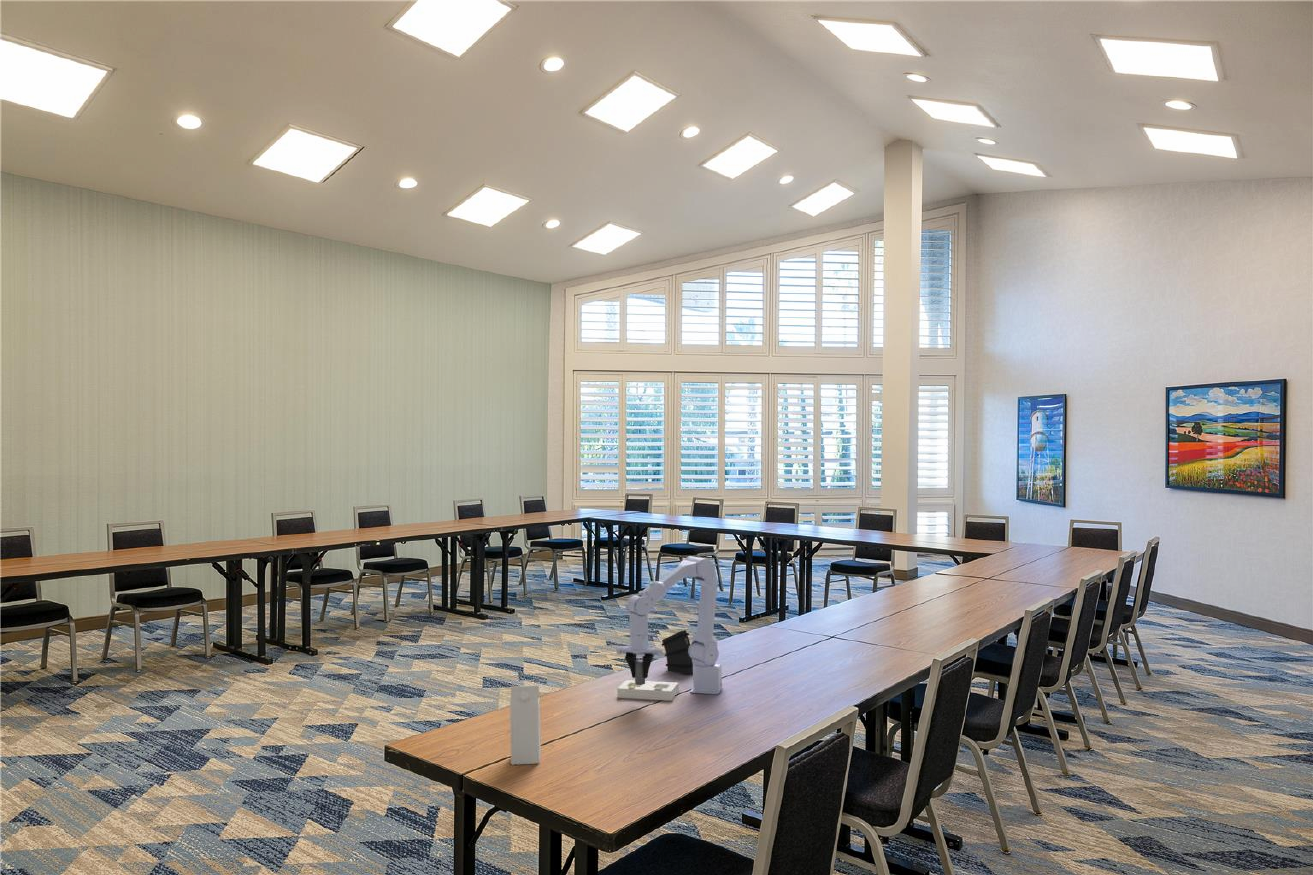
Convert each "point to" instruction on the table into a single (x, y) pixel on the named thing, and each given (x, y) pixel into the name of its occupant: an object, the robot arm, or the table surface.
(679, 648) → the magazine
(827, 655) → the table surface
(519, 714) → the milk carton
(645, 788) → the table surface
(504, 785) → the table surface
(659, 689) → the socket box
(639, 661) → the plug
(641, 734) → the table surface
